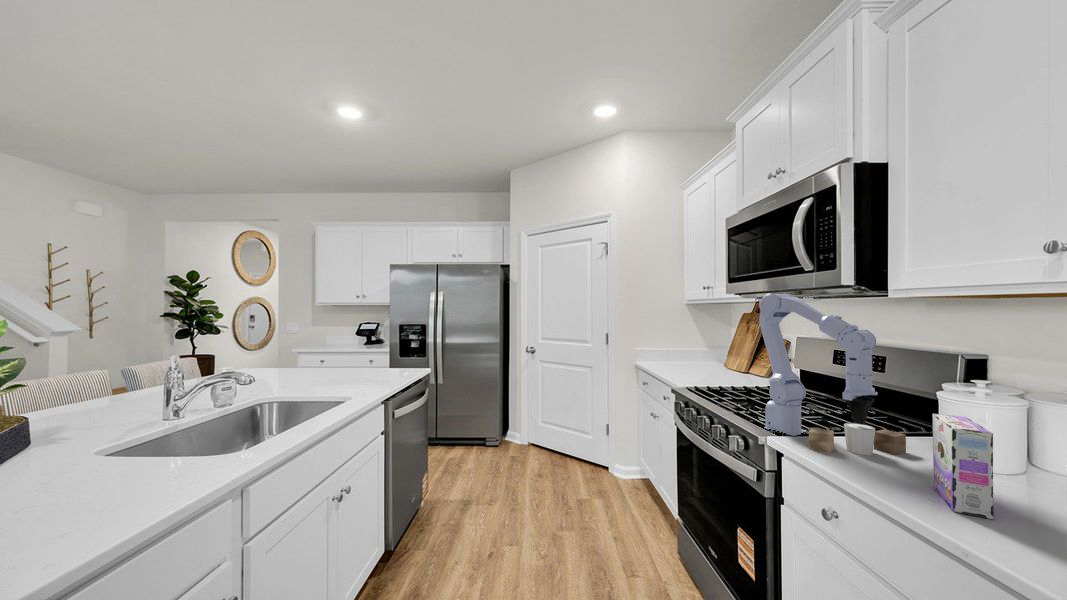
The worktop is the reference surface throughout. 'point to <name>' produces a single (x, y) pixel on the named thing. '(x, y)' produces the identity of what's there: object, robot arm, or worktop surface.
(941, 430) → the candy box
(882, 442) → the walnut block
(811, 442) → the oak block
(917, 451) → the worktop surface
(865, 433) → the white cup
